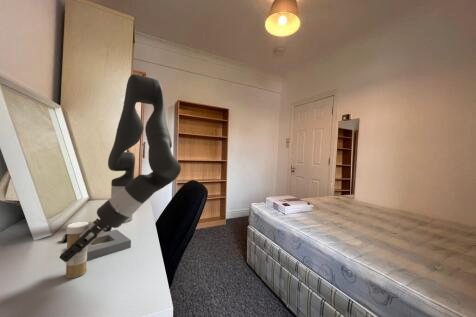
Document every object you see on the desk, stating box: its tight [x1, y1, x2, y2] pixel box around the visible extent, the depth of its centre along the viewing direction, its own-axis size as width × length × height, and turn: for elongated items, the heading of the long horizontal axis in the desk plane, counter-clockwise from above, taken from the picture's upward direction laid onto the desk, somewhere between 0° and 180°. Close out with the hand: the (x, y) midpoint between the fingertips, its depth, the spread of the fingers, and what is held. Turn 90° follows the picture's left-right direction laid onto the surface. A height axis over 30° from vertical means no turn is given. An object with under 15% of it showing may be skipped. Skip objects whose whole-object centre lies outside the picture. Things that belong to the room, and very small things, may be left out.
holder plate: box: [86, 229, 132, 262], centre depth 68 cm, size 14×14×2 cm
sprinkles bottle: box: [64, 221, 89, 279], centre depth 53 cm, size 5×5×13 cm
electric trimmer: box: [61, 226, 113, 244], centre depth 77 cm, size 4×16×3 cm, turn 136°
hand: (68, 253), depth 52 cm, fingers open, 5 cm apart
